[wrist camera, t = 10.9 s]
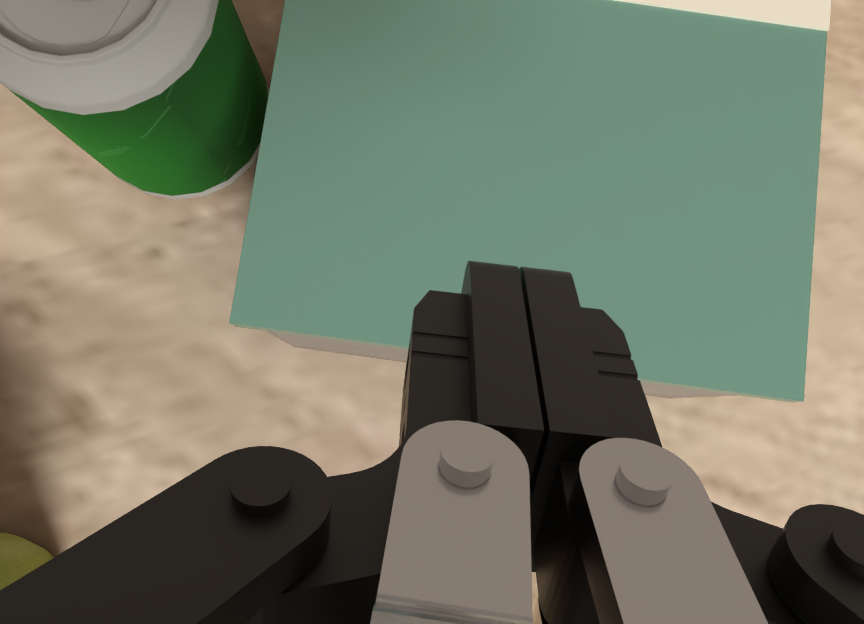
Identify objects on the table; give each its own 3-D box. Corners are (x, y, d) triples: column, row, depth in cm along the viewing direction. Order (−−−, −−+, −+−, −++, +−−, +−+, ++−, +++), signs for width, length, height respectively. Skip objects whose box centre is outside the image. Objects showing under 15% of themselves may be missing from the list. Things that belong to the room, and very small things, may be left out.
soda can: (311, 107, 34) (259, -60, 22) (201, 241, 33) (84, 145, 21) (176, 6, 34) (52, -211, 22) (64, 137, 33) (-129, -17, 21)
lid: (235, 326, 23) (228, 322, 22) (309, -105, 25) (305, -125, 24) (790, 402, 23) (805, 401, 22) (818, -31, 25) (833, -48, 24)
